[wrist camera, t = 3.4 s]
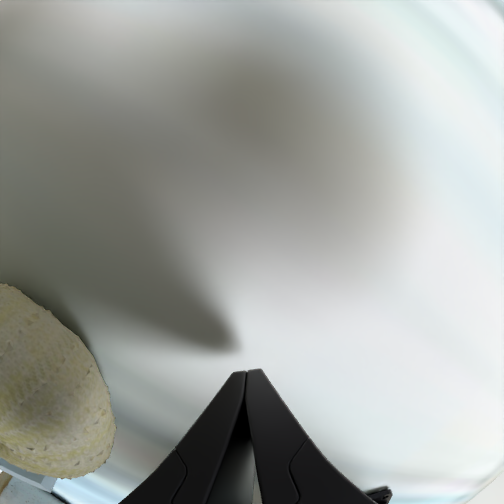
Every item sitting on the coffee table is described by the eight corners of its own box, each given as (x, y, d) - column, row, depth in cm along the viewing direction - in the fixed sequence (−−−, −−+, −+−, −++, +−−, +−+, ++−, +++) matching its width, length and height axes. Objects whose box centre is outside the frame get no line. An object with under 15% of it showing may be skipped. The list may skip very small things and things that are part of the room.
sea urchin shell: (-63, 337, 8) (-131, 362, 1) (27, 255, 12) (4, 218, 6) (41, 463, 10) (56, 555, 4) (126, 388, 14) (185, 448, 8)
